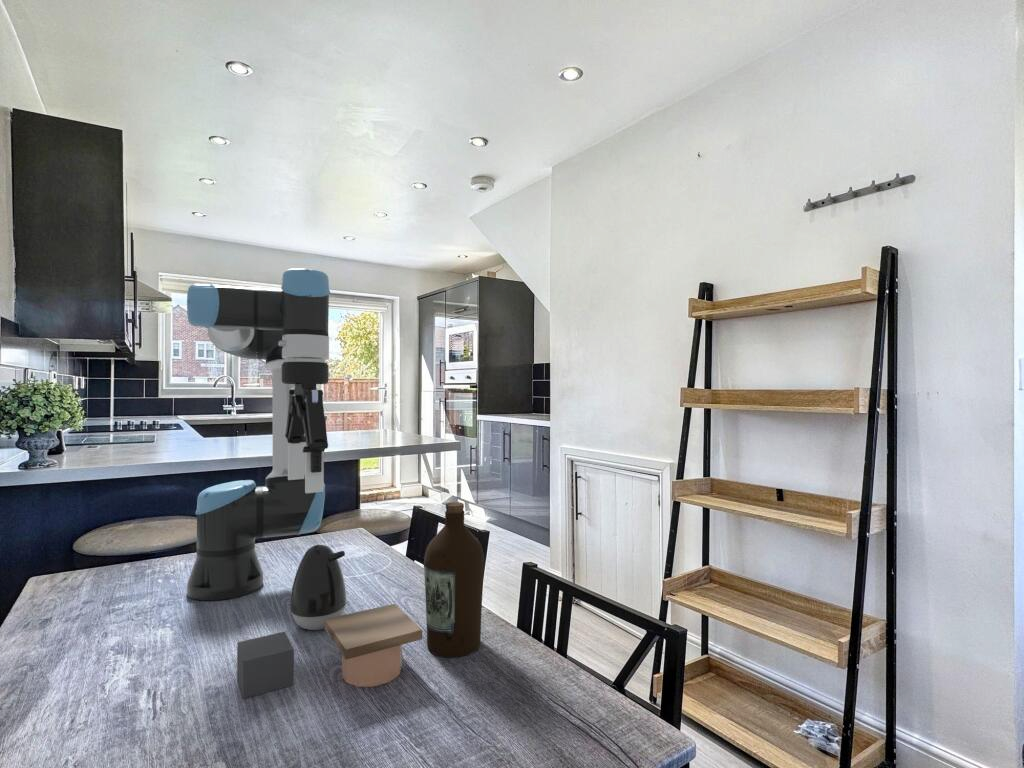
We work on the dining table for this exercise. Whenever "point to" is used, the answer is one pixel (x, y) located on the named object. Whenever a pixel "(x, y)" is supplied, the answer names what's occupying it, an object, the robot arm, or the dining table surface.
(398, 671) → the bowl
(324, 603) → the pump dispenser
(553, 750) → the dining table surface
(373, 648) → the lid
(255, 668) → the block
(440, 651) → the olive oil
